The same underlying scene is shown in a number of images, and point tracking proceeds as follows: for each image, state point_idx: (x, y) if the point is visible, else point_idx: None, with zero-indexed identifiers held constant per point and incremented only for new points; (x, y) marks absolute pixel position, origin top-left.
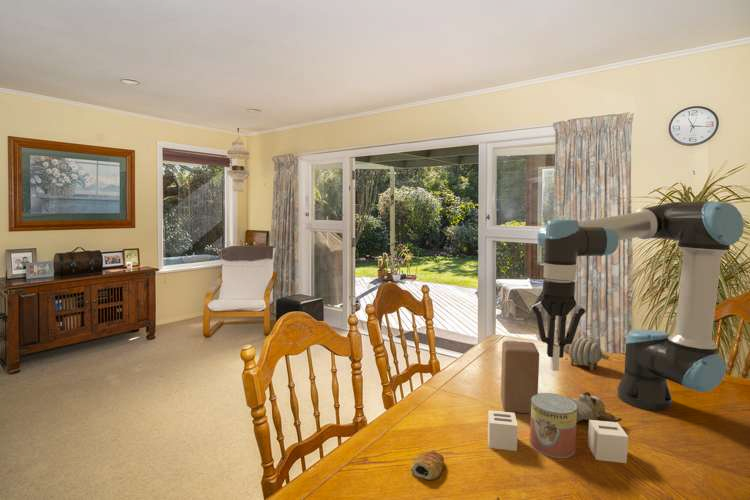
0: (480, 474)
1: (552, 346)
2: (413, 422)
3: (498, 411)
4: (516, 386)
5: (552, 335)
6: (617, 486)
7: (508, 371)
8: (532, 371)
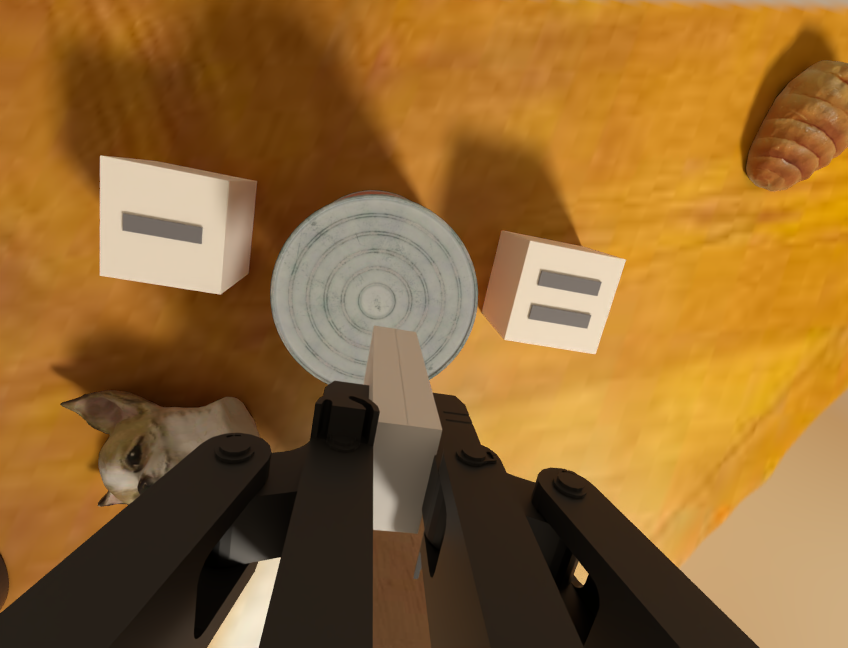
0: (658, 100)
1: (442, 447)
2: (756, 378)
3: (561, 346)
4: None
5: (490, 533)
6: (245, 23)
7: None
8: (380, 565)
